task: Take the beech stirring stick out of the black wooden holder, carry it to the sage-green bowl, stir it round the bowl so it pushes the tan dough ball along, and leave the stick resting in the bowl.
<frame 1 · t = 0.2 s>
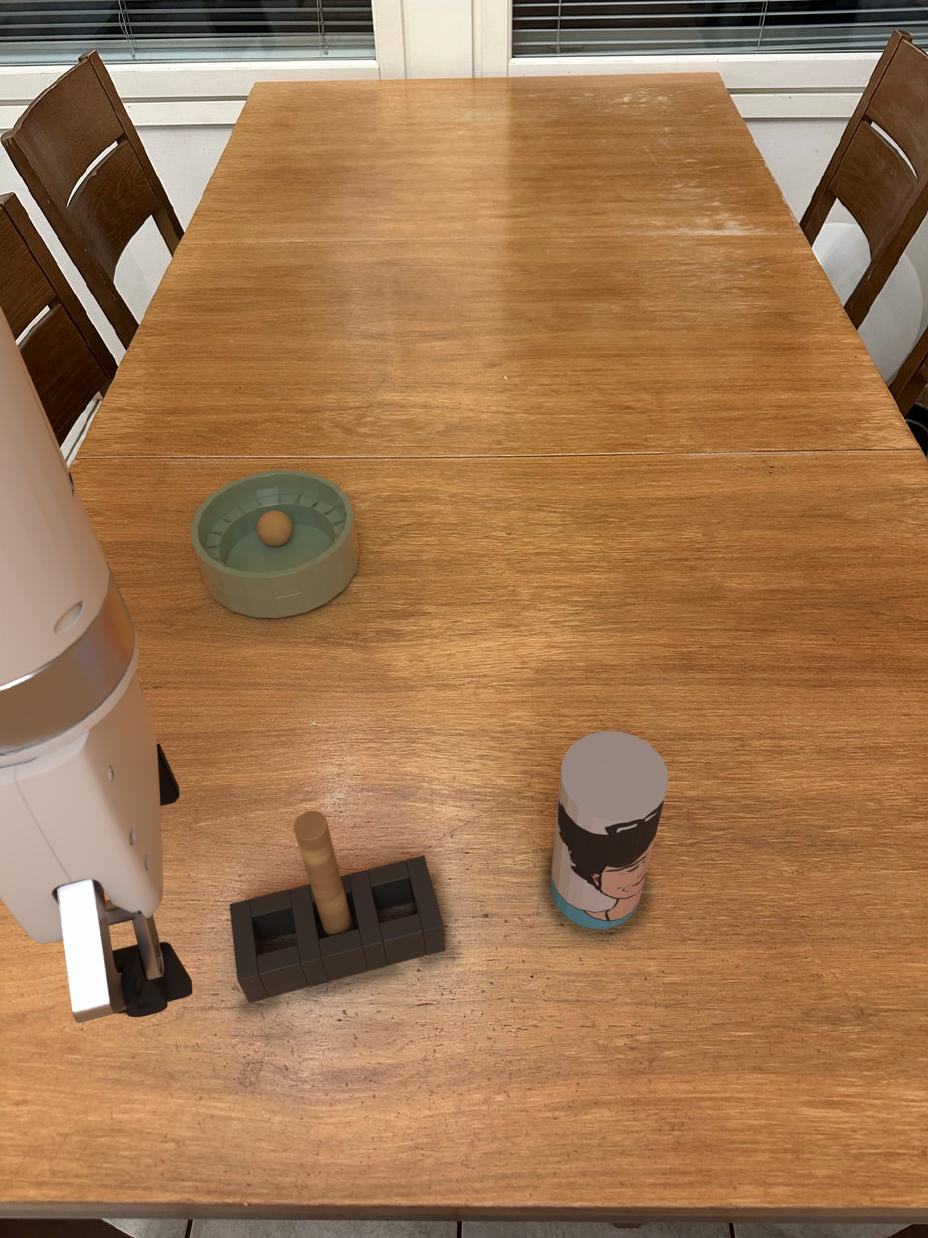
hand: (151, 893, 43), 26 cm above the table, tool pointing down, fingers open, 9 cm apart
printed cylindrical canister: (595, 887, 71), on the table
bowl: (282, 565, 95), on the table
dough ball: (274, 528, 95), point 2 cm above the table, touching bowl
stick: (327, 887, 62), in the holder
holder: (341, 939, 68), on the table
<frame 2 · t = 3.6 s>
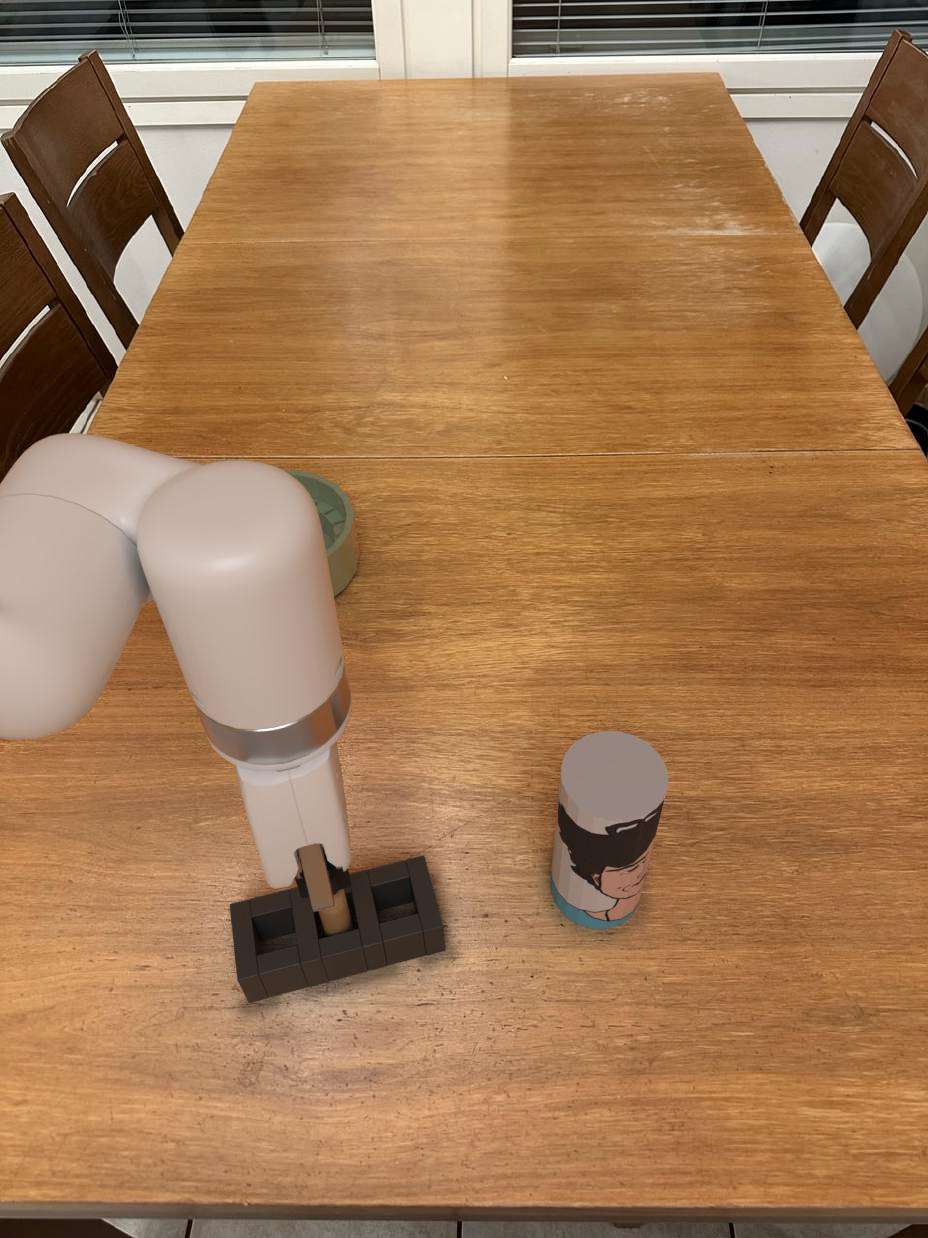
hand: (322, 869, 60), 11 cm above the table, tool pointing down, fingers closed on stick, 2 cm apart
stick: (327, 887, 62), in the holder, touching gripper
everything else where it was.
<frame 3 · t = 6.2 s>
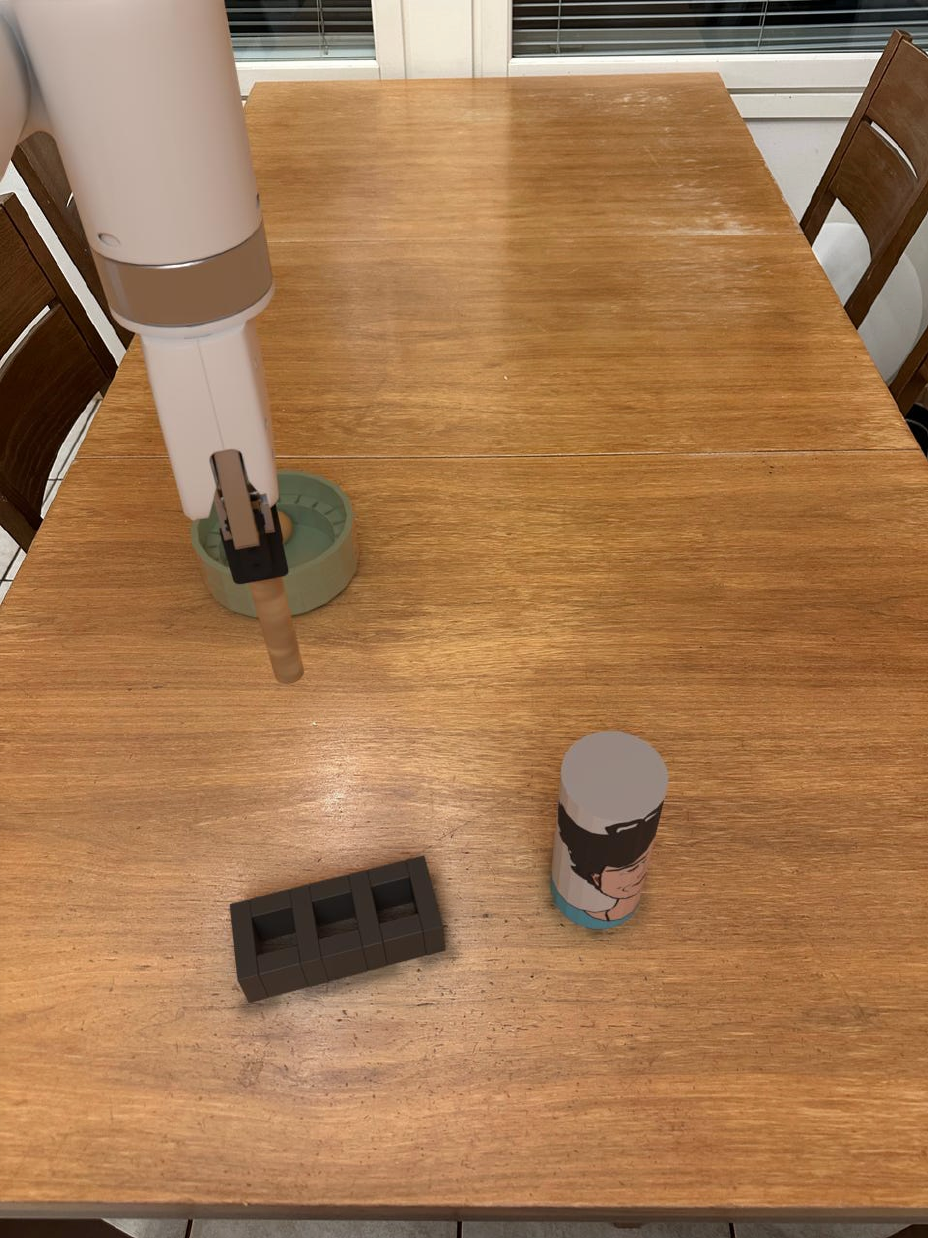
hand: (259, 559, 56), 27 cm above the table, tool pointing down, fingers closed on stick
stick: (267, 589, 58), point 24 cm above the table, touching gripper
everything else where it was.
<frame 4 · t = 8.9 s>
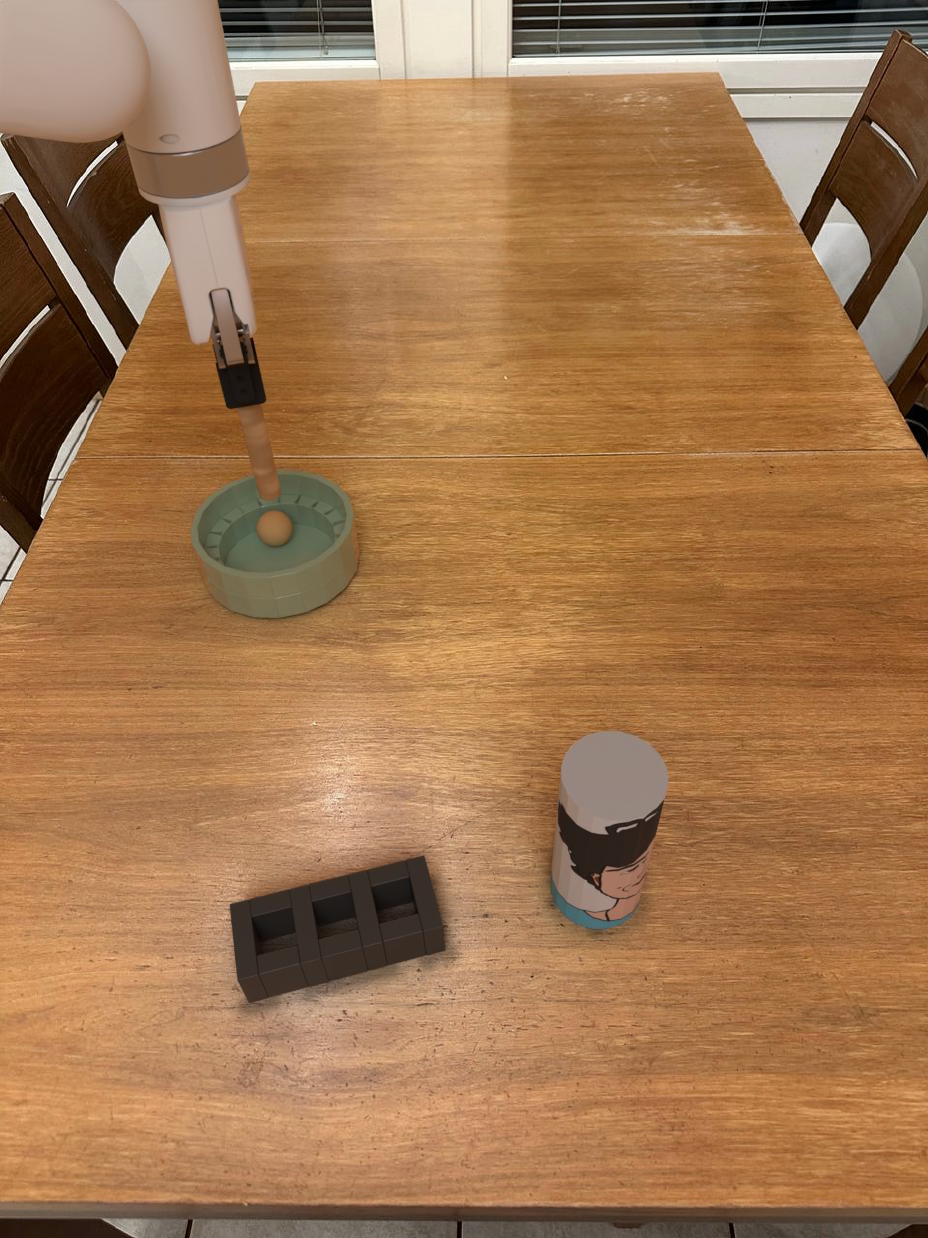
hand: (244, 393, 76), 22 cm above the table, tool pointing down, fingers closed on stick
stick: (252, 419, 78), point 20 cm above the table, touching gripper
everything else where it was.
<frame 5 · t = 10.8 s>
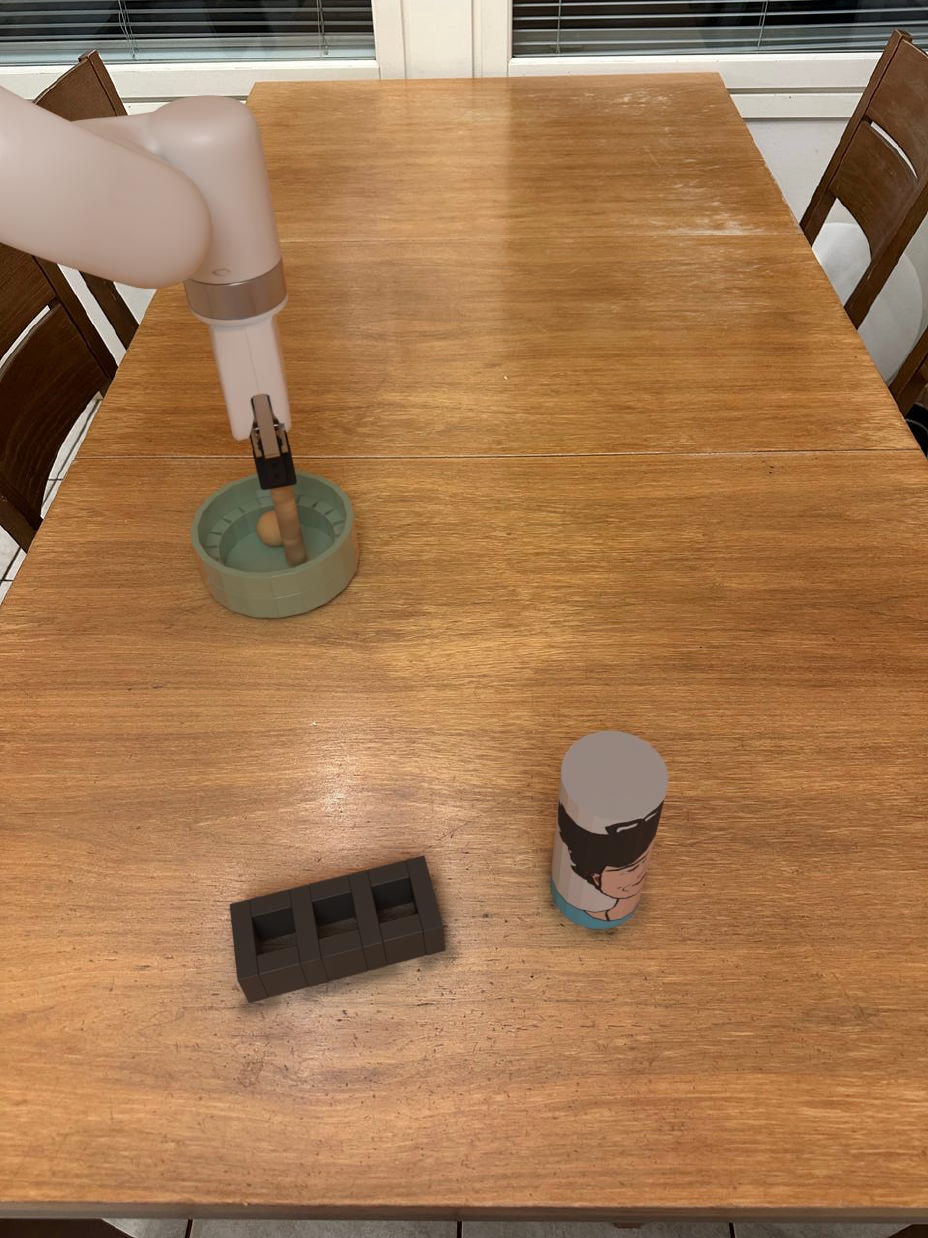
hand: (276, 474, 84), 13 cm above the table, tool pointing down, fingers closed on stick, 2 cm apart
stick: (282, 496, 86), point 10 cm above the table, touching gripper
everything else where it was.
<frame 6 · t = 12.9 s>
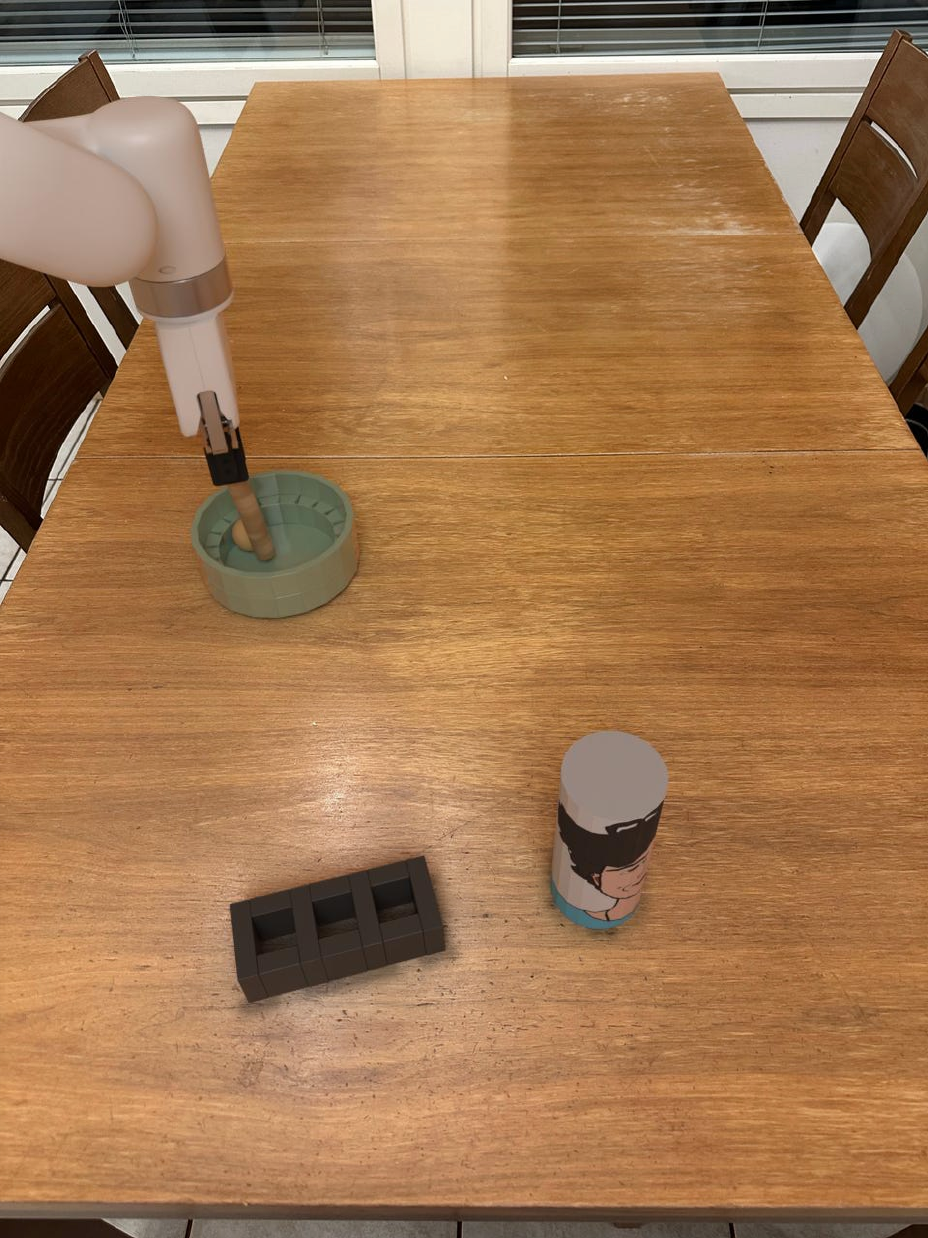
hand: (229, 471, 85), 12 cm above the table, tool pointing down, fingers closed on stick, 2 cm apart
dough ball: (250, 533, 94), point 2 cm above the table, tilted 36°, touching bowl, stick
stick: (241, 492, 87), point 10 cm above the table, tilted 6°, touching dough ball, gripper
everything else where it was.
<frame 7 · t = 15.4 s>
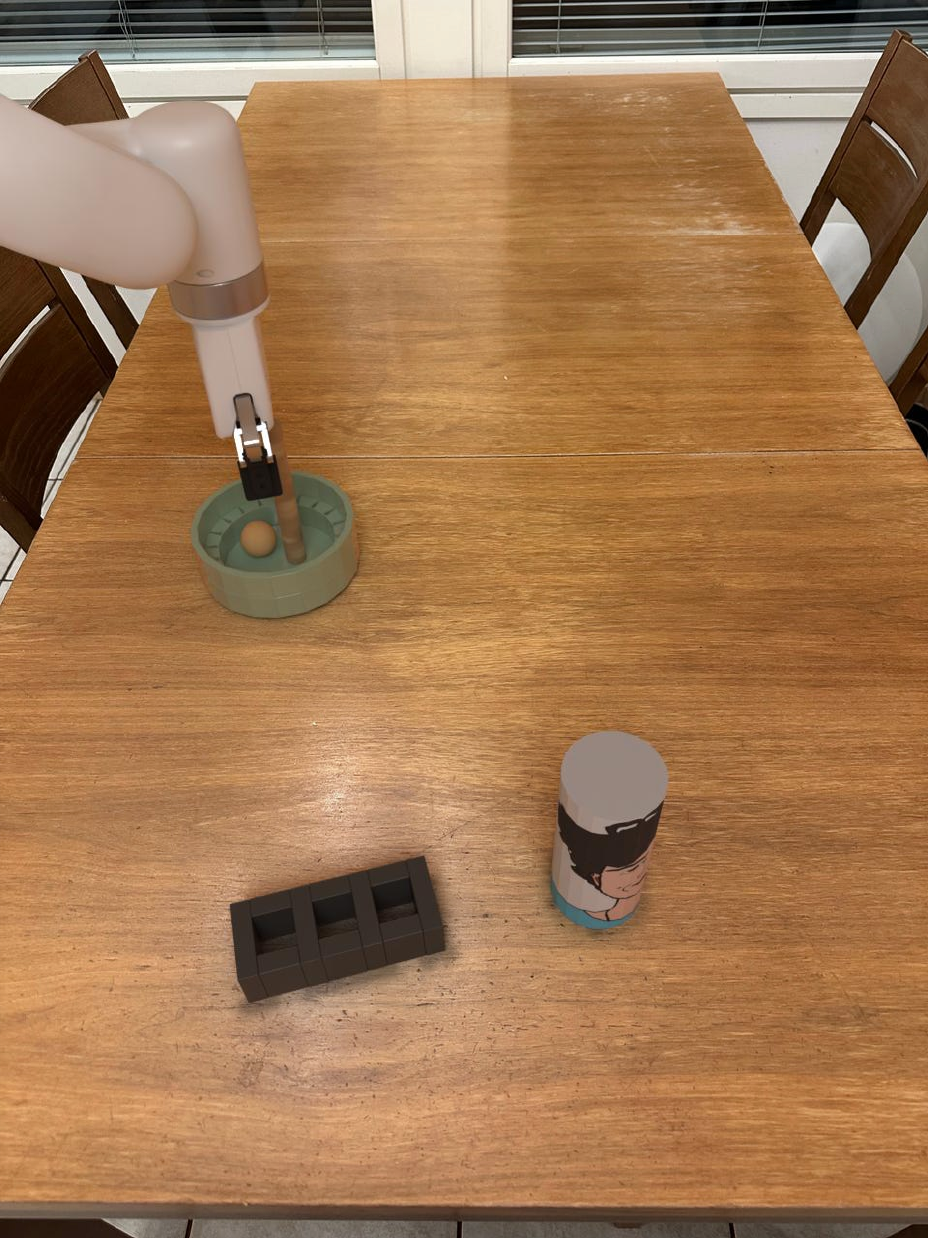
hand: (258, 462, 85), 13 cm above the table, tool pointing down, fingers open, 9 cm apart
dough ball: (258, 538, 94), point 2 cm above the table, tilted 21°, touching bowl
stick: (284, 495, 89), in the bowl, point 9 cm above the table
everything else where it was.
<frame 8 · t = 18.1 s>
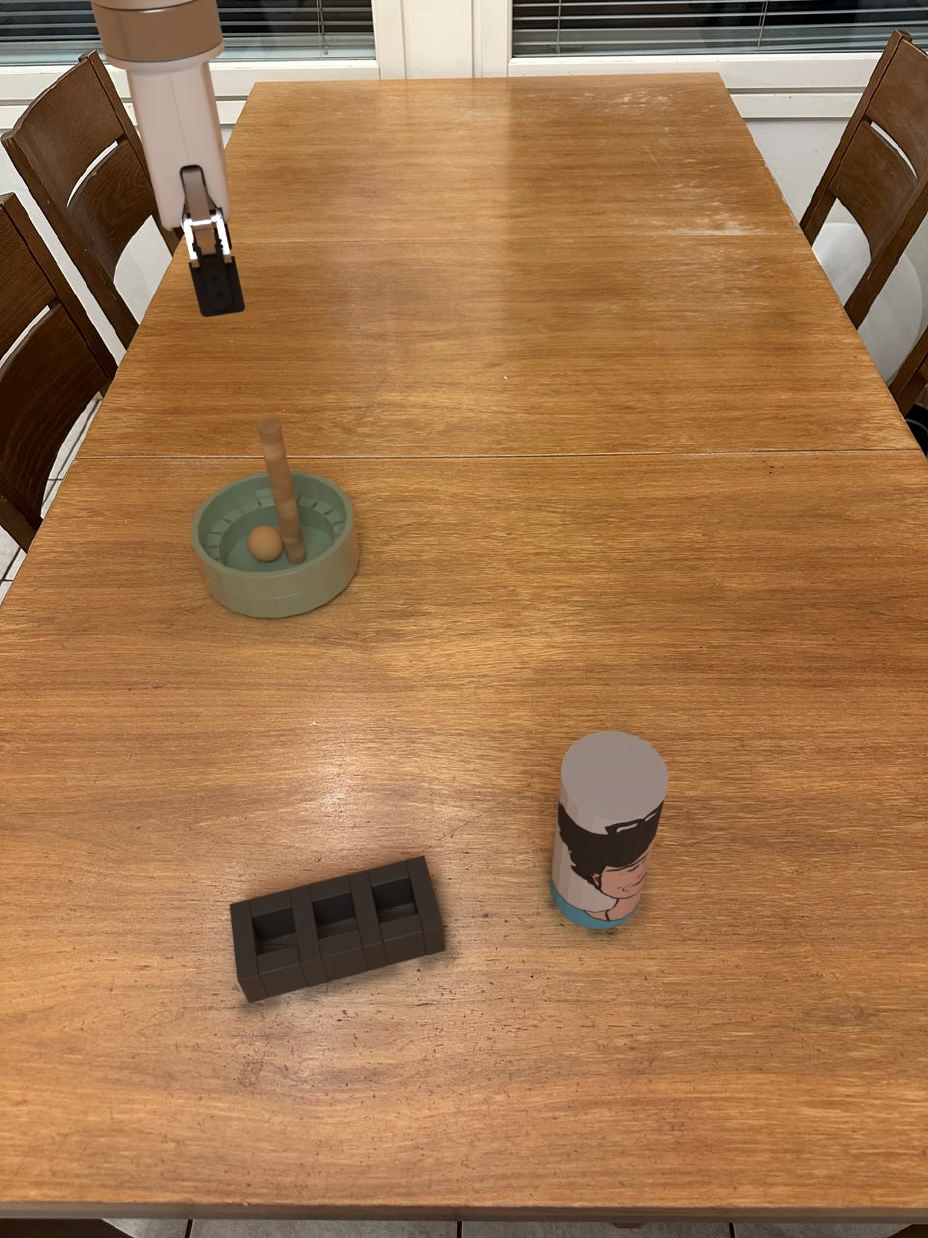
hand: (217, 281, 72), 30 cm above the table, tool pointing down, fingers open, 9 cm apart
dough ball: (265, 543, 93), point 2 cm above the table, tilted 45°, touching bowl
everything else where it was.
at the end: stick inside the target area in the bowl (1.5 cm from its centre), point 8.6 cm above the bowl's base; dough ball moved 2.3 cm from its start; the gripper is holding nothing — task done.
